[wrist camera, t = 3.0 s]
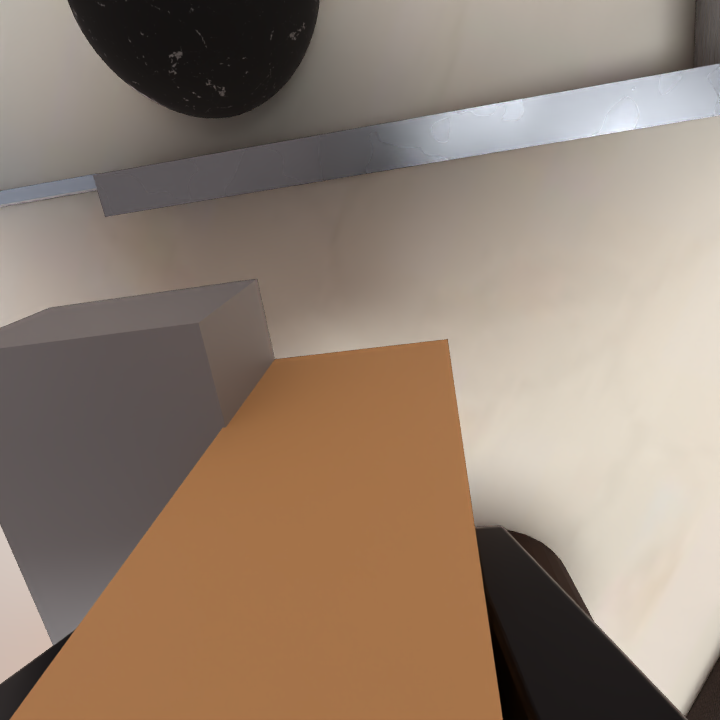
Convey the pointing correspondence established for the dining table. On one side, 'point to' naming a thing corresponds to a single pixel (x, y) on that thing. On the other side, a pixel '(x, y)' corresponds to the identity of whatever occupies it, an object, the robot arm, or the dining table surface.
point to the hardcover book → (708, 698)
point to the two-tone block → (239, 518)
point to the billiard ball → (200, 48)
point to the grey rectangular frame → (433, 135)
